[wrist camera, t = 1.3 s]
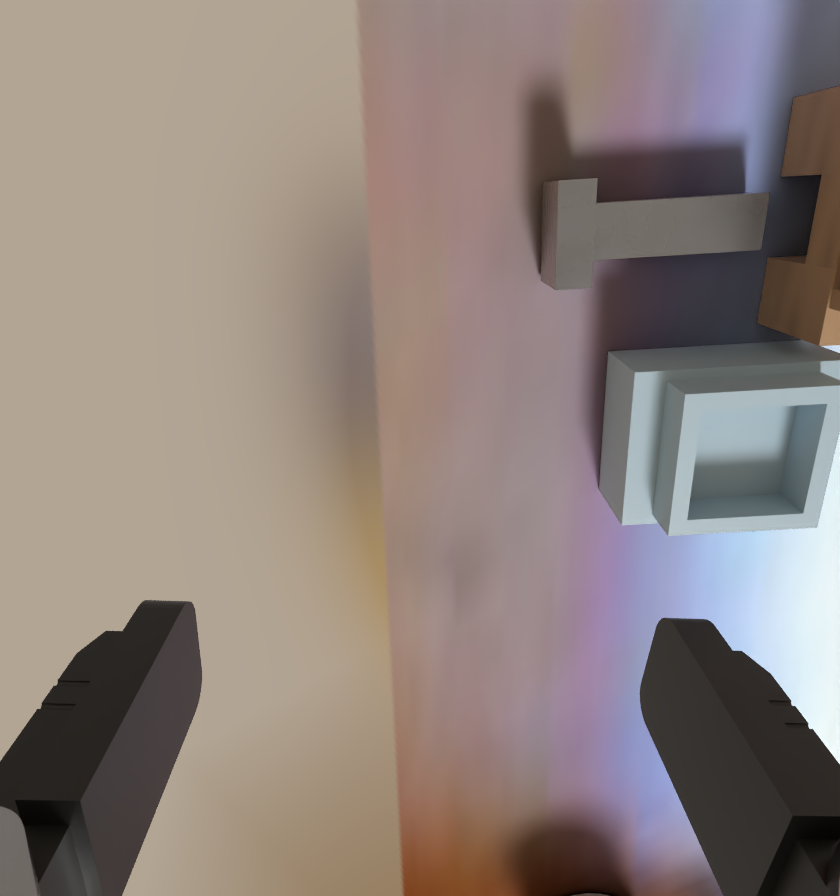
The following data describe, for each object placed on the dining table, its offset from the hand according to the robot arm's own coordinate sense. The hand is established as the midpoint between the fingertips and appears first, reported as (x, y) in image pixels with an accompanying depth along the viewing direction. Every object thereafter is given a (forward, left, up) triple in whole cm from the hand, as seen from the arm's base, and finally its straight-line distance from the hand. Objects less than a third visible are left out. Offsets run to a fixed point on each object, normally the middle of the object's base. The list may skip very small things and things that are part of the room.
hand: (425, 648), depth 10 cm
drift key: (-12, -5, -22) cm, 26 cm away
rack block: (-15, +5, -22) cm, 27 cm away
